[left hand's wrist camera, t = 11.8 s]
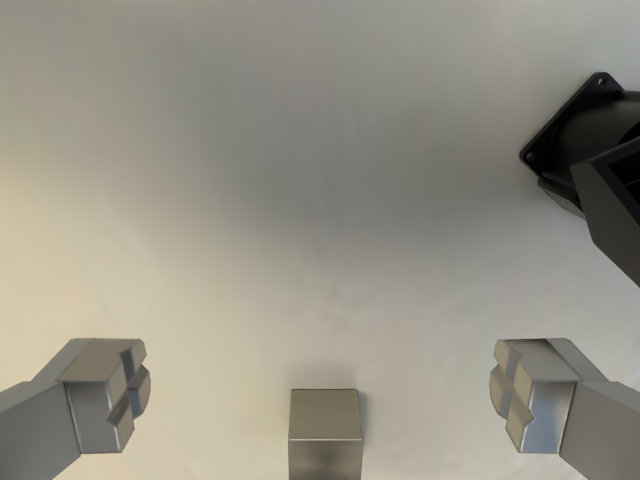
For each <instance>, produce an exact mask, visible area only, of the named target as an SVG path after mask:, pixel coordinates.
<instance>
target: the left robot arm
mask: <svg viewBox="0 0 640 480" xmlns="http://www.w3.org/2000/svg"><path fill="white" fill-rule="evenodd" d="M145 357H146V350H145V345H144V342H143V341H142V340H141V339H117V338H75V339H71V340H70V341H69V342H68V343H67V344H66V345H65V346H64V347H63V348H62V349H61V350H60V351H59V352H58V353H57V354H56V355H55V356H54V357H53V358H52V359H51V361H50V362H49V363H48V364H47V365H46V366H45V367H44V368H43V369H42V370H41V371H40V372H39V373H38V374H37V375H36V376H35V377H34V378H33V379H32V380H31V381H30V382H21V383H19V384H17V385H15V386H12V387H10V388H8V389H6V390H4V391H2V392H0V480H52V479H53V478H54V477H56V476H57V475H58V474H59V473H61V472H62V471H63V470H64V469H66V468H67V467H68V466H69V465H70V464H72V463H73V462H74V461H75V460H77V459H78V458H79V457H80V456H81V454H99V453H122V451H123V450H124V448H125V446H126V444H127V442H128V440H129V438H130V437H131V435H132V433H133V431H134V429H135V428H134V422H133V420H134V419H136V418H137V417H139V416H140V415H141V414H143V412H144V410H145V408H146V406H147V404H148V399H149V395H150V384H151V381H150V374H149V371H148V370H147V369H146V368H145V367H144V366H143V365H142V362H143V360H144V359H145ZM494 357H495V359H496V360H497V362H498V365H497V366H496V367H495V368H494V369H493V370H492V371H491V374H490V382H489V387H490V397H491V400H492V403H493V406H494V408H495V410H496V412H497V414H499V415H500V416H501V417H503V418H504V419H506V420H507V422H506V428H505V429H506V431H507V433H508V435H509V437H510V438H511V440H512V442H513V444H514V446H515V448H516V450H517V451H518V453H540V454H559V456H560V457H561V458H562V459H564V460H565V461H566V462H567V463H568V464H570V465H571V466H572V467H573V468H575V469H576V470H577V471H578V472H580V473H581V474H582V475H583V476H585V477H586V478H587V479H588V480H640V392H638V391H636V390H634V389H632V388H630V387H628V386H625V385H623V384H621V383H619V382H610V381H609V380H608V379H607V378H606V377H605V376H604V375H603V374H602V373H601V372H600V371H599V370H598V369H597V368H596V367H595V366H594V365H593V364H592V363H591V361H590V360H589V359H588V358H587V357H586V356H585V355H584V354H583V353H582V352H581V351H580V350H579V349H578V348H577V347H576V346H575V345H574V344H573V343H572V342H571V341H570V340H568V339H566V338H542V339H507V340H498V341H497V343H496V345H495V349H494Z"/></svg>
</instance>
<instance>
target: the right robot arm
mask: <svg viewBox="0 0 640 480" xmlns="http://www.w3.org/2000/svg"><path fill="white" fill-rule="evenodd" d="M599 78H602V79H603V80H602V83H601V85H598V80H599ZM530 152H531V153H532V156H531V158H530V159H527V155H528V153H530ZM520 160H521V161H522V162H523V163H524V164H525V165H526V166H527V167H528V168H529V169H530V170H531V171H533V172H534V173H535V174H536V175H537V176H538V177H539V178H540V179H539V180H538V186H539V187H540V188H541V189H542V190H544V191H545V192H546V193H547V194H548V195H549V196H550V197H551V198H552V199H553V200H555V201H556V202H557V203H558V204H559V205H560V206H561V207H562V208H564V209H566V210H568V211H569V212H571V213H573V214H575V215H577V216H579V217H580V218H582V219H584V220H586V221H587V224H588V228H589V231H590V234H591V237H592V240H593V242H594V244H595V245H596V246H597V247H598V248H599V249H600V250H601V251H602V252H603V253H604V254H605V255H606V256H607V257H608V258H610V259H611V260H612V261H613V262H614V263H615V264H616V265H617V266H618V267H619V268H620V269H621V270H622V271H623V272H624V273H625V274H626V275H627V276H628V277H629V278H630V279H631V280H632V281H633V282H634V283H635V284H636V285H637V286H638V287H640V92H638V91H625V90H624V89H623V88H622V87H621V86H620V85H619V84H618V83H617V82H616V81H615V80H614V79H613V78H612V77H611V76H610V74H608V73H606V72H598V73H596V74H594V75H593V76H592V77H591V78H590V79H589V80H588V81H587V82H586V83H585V84H584V85H583V86H582V88H581V89H580V90H579V91H578V92H577V93H576V94H575V95H574V96H573V97H572V98H571V99H570V100H569V101H568V102H567V103H566V104H565V106H564V107H563V108H562V109H561V110H560V111H559V112H558V113H557V114H556V115H555V116H554V117H553V118H552V119H551V120H550V121H549V123H548V124H547V125H546V126H545V127H544V128H543V129H542V130H541V131H540V132H539V133H538V134H537V135H536V136H535V137H534V138H533V139H532V141H531V142H530V143H529V144H528V145H527V146H526V147H525V148H524V149H523V150H522V152H521V153H520Z"/></svg>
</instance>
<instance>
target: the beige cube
mask: <svg viewBox="0 0 640 480" xmlns="http://www.w3.org/2000/svg"><path fill="white" fill-rule="evenodd" d="M362 453H363V433H362V426H361V419H360V412H359V405H358V397H357V391H356V390H292V391H291V404H290V419H289V435H288V456H289V480H361V469H362Z"/></svg>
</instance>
